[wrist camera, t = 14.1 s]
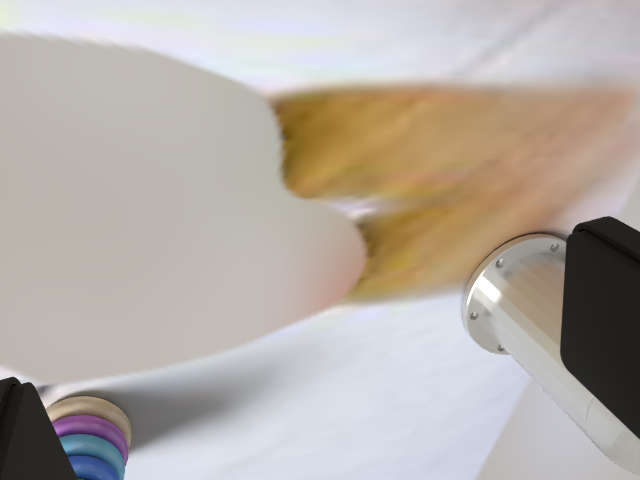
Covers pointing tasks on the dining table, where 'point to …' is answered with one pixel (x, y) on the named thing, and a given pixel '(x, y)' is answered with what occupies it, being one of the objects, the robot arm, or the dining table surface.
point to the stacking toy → (92, 436)
